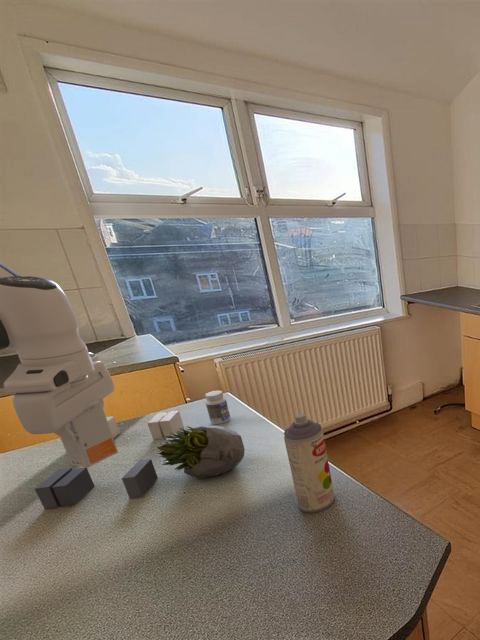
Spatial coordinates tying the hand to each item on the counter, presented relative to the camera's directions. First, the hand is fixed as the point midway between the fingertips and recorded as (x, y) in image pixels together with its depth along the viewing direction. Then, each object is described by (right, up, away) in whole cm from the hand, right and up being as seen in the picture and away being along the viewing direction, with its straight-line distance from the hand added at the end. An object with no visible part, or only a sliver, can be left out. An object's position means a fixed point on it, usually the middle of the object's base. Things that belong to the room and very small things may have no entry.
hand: (85, 432), depth 85 cm
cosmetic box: (0, -6, +2) cm, 6 cm away
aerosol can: (+44, -15, +4) cm, 47 cm away
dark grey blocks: (-1, -13, +5) cm, 14 cm away
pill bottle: (+2, -1, +36) cm, 36 cm away
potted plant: (+16, -11, +13) cm, 23 cm away
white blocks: (-12, -4, +27) cm, 30 cm away
